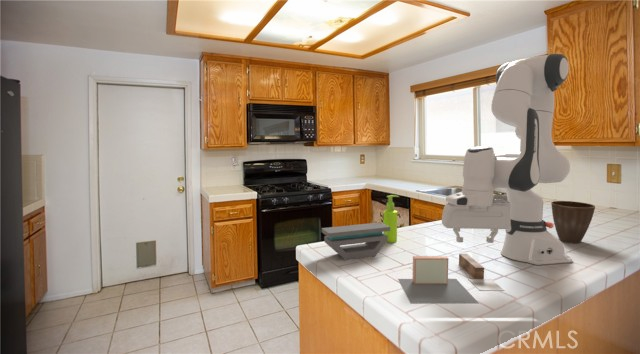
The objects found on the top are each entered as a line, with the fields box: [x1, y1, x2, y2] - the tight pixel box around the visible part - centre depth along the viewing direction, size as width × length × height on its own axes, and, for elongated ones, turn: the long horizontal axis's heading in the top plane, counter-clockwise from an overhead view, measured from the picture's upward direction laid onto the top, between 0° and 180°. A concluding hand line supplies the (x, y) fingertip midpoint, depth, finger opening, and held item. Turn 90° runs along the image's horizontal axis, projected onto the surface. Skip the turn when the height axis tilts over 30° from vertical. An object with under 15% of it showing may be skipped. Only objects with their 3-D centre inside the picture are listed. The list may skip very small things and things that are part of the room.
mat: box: [397, 278, 479, 305], centre depth 97 cm, size 18×16×1 cm
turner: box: [458, 253, 505, 292], centre depth 107 cm, size 21×7×4 cm, turn 179°
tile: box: [411, 255, 449, 284], centre depth 102 cm, size 10×2×8 cm, turn 89°
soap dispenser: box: [382, 194, 400, 244], centre depth 147 cm, size 6×7×20 cm
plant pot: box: [551, 200, 596, 244], centre depth 144 cm, size 15×15×16 cm
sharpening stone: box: [321, 221, 390, 261], centre depth 129 cm, size 25×8×11 cm, turn 109°
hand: (474, 242), depth 106 cm, fingers open, 8 cm apart
